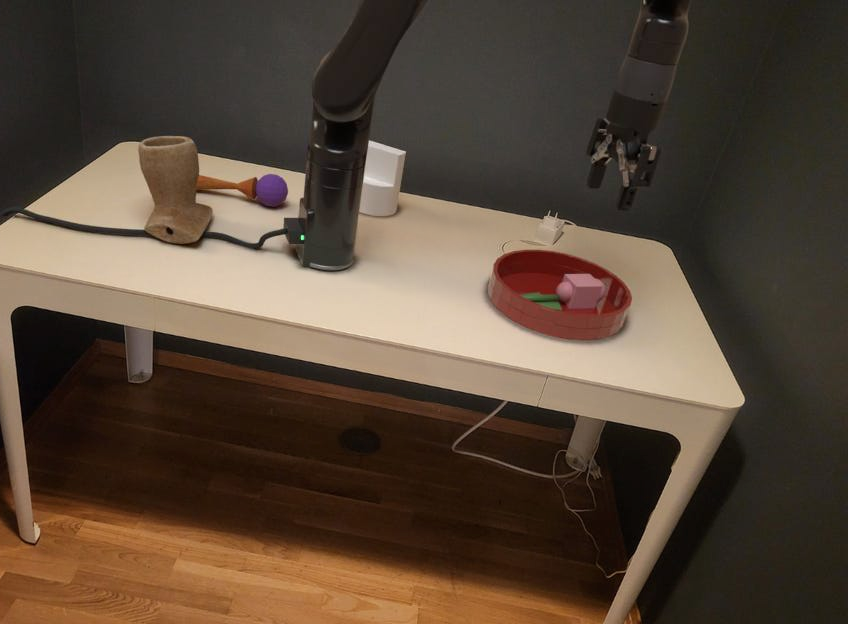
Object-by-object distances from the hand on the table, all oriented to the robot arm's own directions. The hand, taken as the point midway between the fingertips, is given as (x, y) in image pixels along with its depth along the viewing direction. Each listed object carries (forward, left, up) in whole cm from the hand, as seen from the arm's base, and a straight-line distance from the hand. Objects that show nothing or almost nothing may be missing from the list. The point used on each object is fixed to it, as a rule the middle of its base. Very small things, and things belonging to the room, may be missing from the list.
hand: (606, 198), depth 115 cm
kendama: (-52, +40, -18) cm, 68 cm away
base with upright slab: (-25, +37, -18) cm, 48 cm away
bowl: (-5, -2, -18) cm, 19 cm away
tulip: (-5, -2, -18) cm, 18 cm away
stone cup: (-64, +27, -18) cm, 72 cm away
